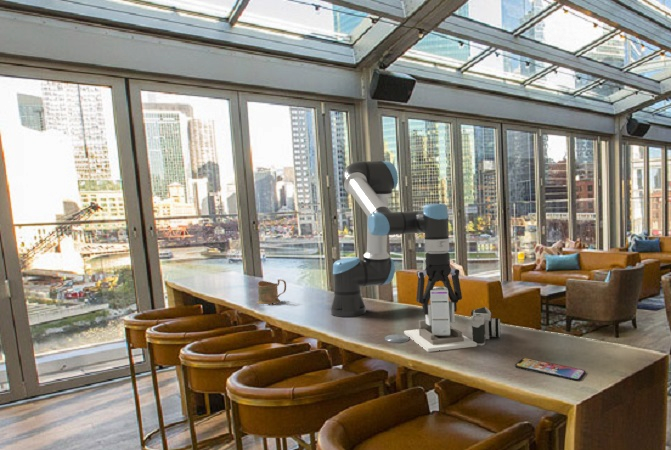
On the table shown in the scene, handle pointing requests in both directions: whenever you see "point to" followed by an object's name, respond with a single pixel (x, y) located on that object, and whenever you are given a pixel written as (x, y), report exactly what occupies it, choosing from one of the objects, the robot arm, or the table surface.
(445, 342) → the bracket board
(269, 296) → the mug
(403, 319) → the table surface
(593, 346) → the table surface
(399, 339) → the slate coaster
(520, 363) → the smartphone
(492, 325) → the camera
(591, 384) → the table surface
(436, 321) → the syrup box
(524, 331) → the table surface
